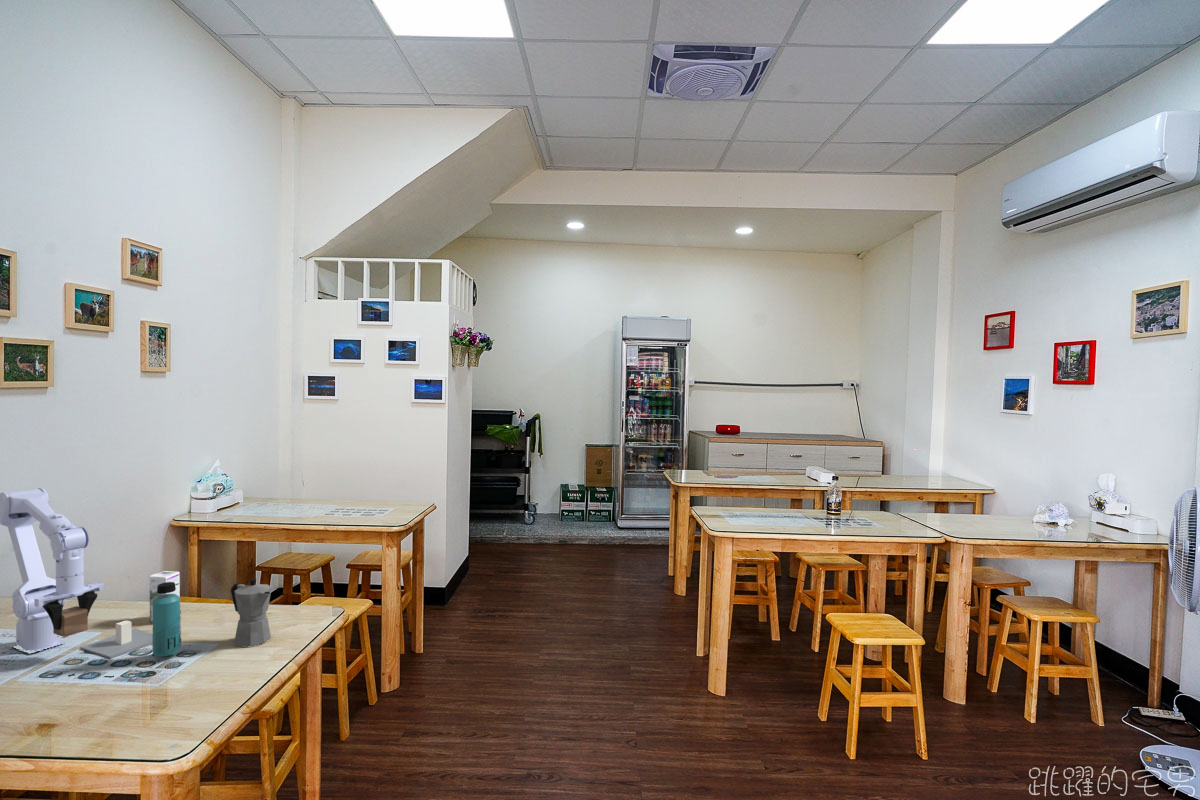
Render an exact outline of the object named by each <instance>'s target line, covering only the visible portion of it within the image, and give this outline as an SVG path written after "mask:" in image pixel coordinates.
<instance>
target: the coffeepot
mask: <svg viewBox="0 0 1200 800" xmlns="http://www.w3.org/2000/svg"><path fill="white" fill-rule="evenodd" d="M256 582H257V578H251V579H249V583H250V584H249V585H248V584H247V585H246V584H243V583H241V584H240V583H238V582H237V583H234V584H233V585H232V587H231V588H230V593H231V597H232V602H233V606H234V610H235V612H237V614H238V616H239V619H238V621H237V627H236V631H235V636H234V644H235V646H237V647H239V646H253V647H255V646H254V645H258V644H261V643H264V644H265V642H266V641H267V640H269V641H270V639H271V638H272V636H271V630H270V625H269V619H268V617H267V611H268V610H269V606H270V600H271V593H272V586H270V585H269V584H268V583H267V584H266V583H265V584H262V583H260V584H259V583H256ZM267 642H268V641H267ZM267 642H266V643H267ZM261 645H262V644H261ZM258 646H259V645H258Z"/></svg>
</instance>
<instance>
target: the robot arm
mask: <svg viewBox="0 0 1200 800" xmlns="http://www.w3.org/2000/svg"><path fill="white" fill-rule="evenodd" d="M49 501H50V498H49V494H48V492H47V490H45V488H44V487H38V488H33V489H25V490H19V491H18V490H17V491H8V492H5V491H4V492H0V525H1V526H3V527H4V526H5V527H7V529H8V530H7V531H8V533H9V536H10V540H11V544H12V547H13V552H14V553H15V554H14V555H15V558H16V563H17V566H18V569H19V573H20V577H21V580H22V584H21V585H20V586H18V588H17V589H15V590H14V592H13V593H12V595H11V598H12V611H13V614H14V615H15V617H16V618H18V619H17V622H16V624H15V644H16V645H19V646H21V647H22V648H23V649H25V650H37V649H38V650H39V649H40V650H43V649H46V650H48V649H47V648H49V649H51V648H50V647H52V648H55V647H54V646H56V647H58V646H57V645H59V646H61V645H60V644H62V645H65V644H64V643H66V642H65V641H63V640H60V639H58V635H57V634H54V633H53V628H54V629H56V630H59V629H61V615H62V610H64V606H65V604H66V603H67V600H68V599H71V598H77V603H78V607H81V608H85V609H88V615H90V614H89V613H90V611H91V609H92V607H93V604H94V603H95V601H96V600H97V598H98V593H96V592H102V591H104V583H103V582H96V583H91V584H90V583H89V584H85V548H87V547H88V546H89V543H90V536H89V535H90V534H89V533H88V530H87V528H86V527H84V526H78V525H77V526H75V525H74V524H73V523H72V522H71V521H70V520H69V519H68V518H67V517H66V516H65V515H64V514H61V513H55V511H54V510H53V508H52V507H51V506H50V505H49V503H50V502H49ZM37 521H38V522H39V530H40V531H41V532H42V533H43V534H44V535H45V536H46V538H48V539H49V543H50V548H51V551H52V557H53V560H55V578H51V577H50V576H47V573H46V570H45V566H44V563H43V559H42V555H41V552H40V548H39V544H38V541H37V538H36V534H35V531H34V527H33V524H34V523H35V522H37ZM43 651H44V650H43Z"/></svg>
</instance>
